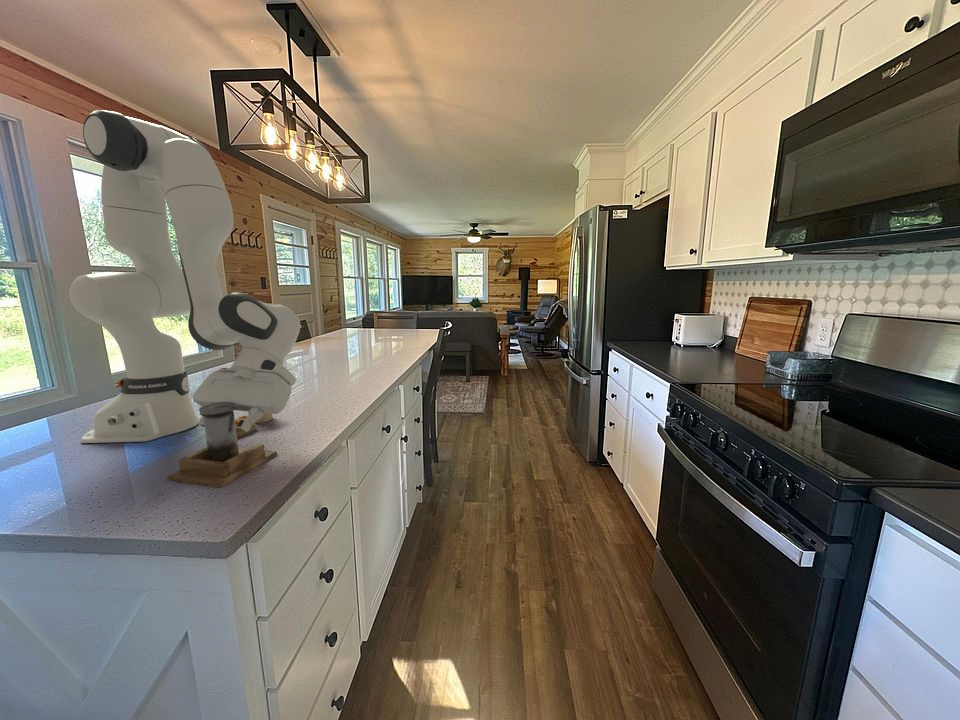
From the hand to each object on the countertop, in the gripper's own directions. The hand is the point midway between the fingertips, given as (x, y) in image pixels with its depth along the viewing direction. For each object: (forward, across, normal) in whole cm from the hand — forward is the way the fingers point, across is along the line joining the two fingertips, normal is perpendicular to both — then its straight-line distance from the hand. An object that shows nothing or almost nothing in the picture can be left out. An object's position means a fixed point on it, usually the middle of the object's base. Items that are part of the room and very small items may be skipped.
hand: (222, 428), depth 76 cm
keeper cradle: (+6, 0, +5) cm, 8 cm away
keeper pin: (+5, 0, +5) cm, 7 cm away
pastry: (-4, -12, +16) cm, 21 cm away
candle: (-11, -14, +23) cm, 29 cm away
